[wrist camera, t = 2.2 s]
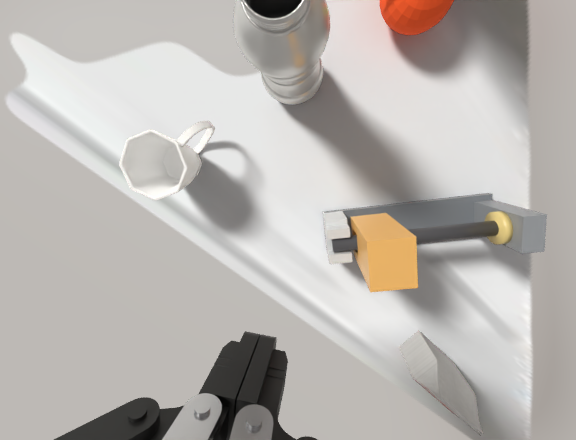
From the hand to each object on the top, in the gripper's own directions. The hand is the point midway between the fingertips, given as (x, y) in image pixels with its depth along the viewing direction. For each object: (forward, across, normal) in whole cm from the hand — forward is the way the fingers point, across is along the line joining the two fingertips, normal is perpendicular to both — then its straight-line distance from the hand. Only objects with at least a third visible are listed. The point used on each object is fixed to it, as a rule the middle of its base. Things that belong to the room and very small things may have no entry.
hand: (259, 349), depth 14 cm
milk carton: (+26, -19, +18) cm, 37 cm away
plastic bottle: (+26, +4, -16) cm, 30 cm away
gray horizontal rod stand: (+26, -12, 0) cm, 29 cm away
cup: (+24, +15, -6) cm, 29 cm away
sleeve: (+22, -8, +1) cm, 23 cm away
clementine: (+27, -7, -23) cm, 37 cm away
